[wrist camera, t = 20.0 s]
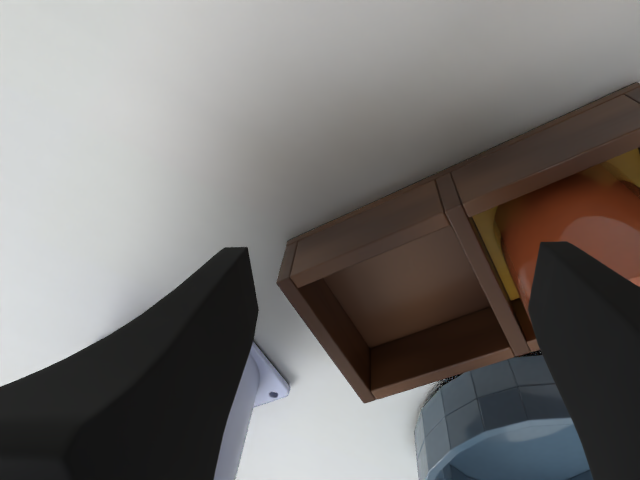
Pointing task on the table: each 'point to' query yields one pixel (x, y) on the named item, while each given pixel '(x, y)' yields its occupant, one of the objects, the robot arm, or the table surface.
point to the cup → (573, 224)
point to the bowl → (500, 427)
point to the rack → (442, 257)
